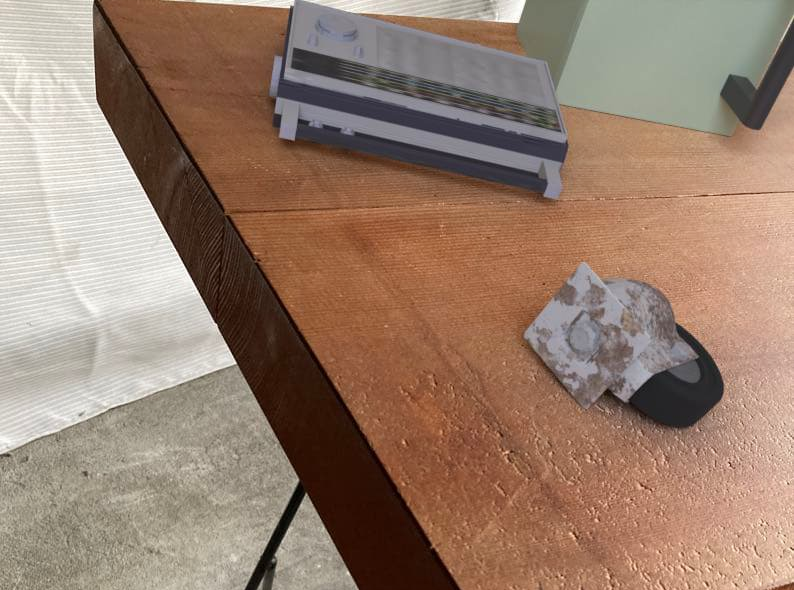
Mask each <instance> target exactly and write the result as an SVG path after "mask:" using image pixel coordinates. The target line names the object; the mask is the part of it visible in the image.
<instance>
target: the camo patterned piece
mask: <svg viewBox="0 0 794 590" xmlns="http://www.w3.org/2000/svg"><path fill="white" fill-rule="evenodd" d="M523 338H524V339H525V341H526V342H527V343H528V344H529V346H530V347H531V348H532V349H533V351H534V352H535V353H536V354H537V355H538V356H539V358H540V359H541V360H542V361H543V362H544V363H545V365H546V366H547V367H548V368H549V369H550V371H551V372H552V374H554V376H555V377H556V378H557V379H558V380H559V381H560V383H561V384H562V385H563V387H564V388H565V389H566V390H567V391H568V393H569V394H570V395H571V396H572V397H573V398H574V400H575V401H576V402H577V404H578V405H579V406H580V407H581V409H584V410H588V409H589V408H590V407H591V406H592V405H593V404H594V403H595V402H596V401H597V400H598V398H599V397H601V395H602V394H603V393H605V391H606V390H607V389H608V390H609V391H610V392H611V393H612V394H613V395H614V396H616V397H617V398H619V399H620V401H622V402H624V403H625V404H628V403H631V404H632V405H633V406H634V407H636V409H638V410H639V411H641V412H642V413H644V414H645V415H647V417H650V418H651V419H653V420H655V421H656V422H658V423H661V424H664V425H666V426H669V427H673V428H682V429H683V428H691V427H692V426H695V425H696V424H697V423H698V422H699V421H700V420H701V419H702V418H703V417H705V416H706V415H707V414H708V413H709V412H710V411H711V410H712V409H713V408H715V406H716V405H718V403H720V401H721V400H722V399H723V396H724V393H725V383H724V380H723V376H722V373H721V371H720V369H719V367H718V365H717V363H716V361H715V360H714V358H713V357H712V355H711V354H710V353H709V351H708V350H707V349H706V347H704V346H703V344H702V343H701V342H700V341H699V340H698V339H697V338H696V337H695V336H693V334H691V333H690V332H689V331H688V330H687V329H686V328H684V327H683V326H682V325H681V324H680V323H677V322H676V318H675V312H674V309H673V307H672V303H671V302H670V300H669V298H668V297H667V295H665V293H663V292H662V291H661V290H660V289H658V288H657V287H655V286H653V285H652V284H650V283H647V282H645V281H642V280H638V279H635V278H634V279H633V278H627V277H626V278H624V277H613V278H604V279H601V278H600V277H599V275H597V273H596V272H595V271H594V270H593V268H592V267H590V265H589V264H588V263H586V262H584V261H581V262H580V263H579V265H578V266H577V267H576V269H575V270H574V271H573V272H572V273H571V275H570V276H569V277H568V278H567V280H565V282H564V283H563V284H562V286H560V288H559V289H558V290H557V292H556V293H555V294H554V295H553V297H552V298H551V299H550V300H549V302H548V303H546V305H545V306H544V307H543V309H542V310H541V311H540V313H539V314H538V315H537V316H536V317H535V319H534V320H533V321H532V322H531V323H530V325H529V326H528V327H527V328H526V330H525V331H524V334H523Z"/></svg>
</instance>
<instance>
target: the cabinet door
mask: <svg viewBox="0 0 794 590" xmlns="http://www.w3.org/2000/svg"><path fill="white" fill-rule="evenodd" d="M784 34H785V35H784ZM793 69H794V0H584V3H583V6H582V9H581V12H580V14H579V17H578V20H577V23H576V26H575V28H574V31H573V34H572V37H571V39H570V42H569V45H568V48H567V51H566V53H565V56H564V59H563V62H562V64H561V67H560V70H559V73H558V76H557V78H556V81H555V84H554V88H555V92H556V95H557V99H558V102H559V105H560V106H566V107H572V108H576V109H581V110H582V109H583V110H588V111H592V112H598V113H605V114H608V115H609V114H610V115H613V116H619V117H625V118H630V119H635V120H640V121H646V122H652V123H657V124H663V125H666V126H667V125H668V126H672V127H677V128H684V129H689V130H694V131H698V132H704V133H705V132H706V133H710V134H716V135H720V136H726V137H732V136H733V134H734V133H735V131H736V128H737V127H738V125H739V123H741V124H742V125H743V126H744V127H746V128H747V129H750V130H754V131H760V130H762V128H763V126H764V124H765V122H766V120H767V118H768V116H769V115H770V113H771V110H772V109H773V107H774V105H775V103H776V102H777V100H778V98H779V96H780V94H781V92H782V91H783V88H784V86H785V84H786V83H787V80H788V79H789V77H790V75H791V73H792V71H793Z"/></svg>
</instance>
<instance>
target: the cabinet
mask: <svg viewBox="0 0 794 590" xmlns="http://www.w3.org/2000/svg"><path fill="white" fill-rule="evenodd" d="M583 3H584V0H525V2H524V5H523V7H522V11H521V13H520V17H519V21H518V24H517V27H516V29H515V36H516V37H517V39H518V42H519V43H520V45H521V47H522V49H523V51H524V53H525V56H526V57H530V58H534V59H538V60H542V61H546V62H547V64H548V68H549V71H550V75H551V78H552V81H553V85H554V84H555V81H556V78H557V76H558V73H559V70H560V67H561V64H562V62H563V59H564V56H565V53H566V51H567V48H568V45H569V42H570V39H571V37H572V34H573V31H574V28H575V26H576V23H577V20H578V17H579V14H580V12H581V9H582V6H583Z"/></svg>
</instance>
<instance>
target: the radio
mask: <svg viewBox="0 0 794 590" xmlns="http://www.w3.org/2000/svg"><path fill="white" fill-rule="evenodd" d="M268 99H272V100H275V107H274V112H273V120H272V127H275V128H279V134H278V138H280V139H285V140H291V141H294V142H295V139H299V140H304V141H308V142H313V143H317V144H320V145H321V144H322V145H326V146H331V147H335V148H339V149H344V150H348V151H353V152H358V153H362V154H367V155H371V156H375V157H378V158H379V157H380V158H384V159H387V160H393V161H397V162H401V163H405V164H406V163H407V164H411V165H416V166H420V167H424V168H429V169H433V170H437V171H442V172H446V173H452V174H455V175H460V176H464V177H469V178H474V179H477V180H482V181H486V182H490V183H496V184H499V185H504V186H508V187H514V188H517V189H522V190H528V191H531V192H536V193H540V194H542V197H544V198H550V199H553V200H558V199H559V196H560V194H561V192H562V189H563V182H562V178H561V171H562V169H563V166H564V164H565V160H566V156H567V154H568V150H569V142H568V137H569V133H568V130H567V126H566V124H565V120H564V116H563V113H562V110H561V105H560V104H559V102H558V99H557V95H556V92H555V88H554V85H553V81H552V78H551V75H550V71H549V68H548V64H547V62H546V61H542V60H538V59H534V58H530V57H527V55H522V54H518V53H514V52H510V51H506V50H503V49H499V48H494V47H490V46H487V45H482V44H478V43H474V42H470V41H467V40H462V39H459V38H454V37H450V36H448V35H447V36H446V35H442V34H439V33H435V32H431V31H426V30H423V29H418V28H415V27H411V26H406V25H403V24H398V23H395V22H390V21H387V20H383V19H378V18H375V17H370V16H367V15H363V14H358V13H354V12H351V11H346V10H343V9H338V8H335V7H331V6H326V5H322V4H320V3H316V2H315V3H314V2H310V1H306V0H294V1H293V5H290V6H289V13H288V19H287V25H286V32H285V38H284V44H283V51H282V56H281V55H276V54H275V55H274V61H273V67H272V74H271V80H270V86H269V93H268Z"/></svg>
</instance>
